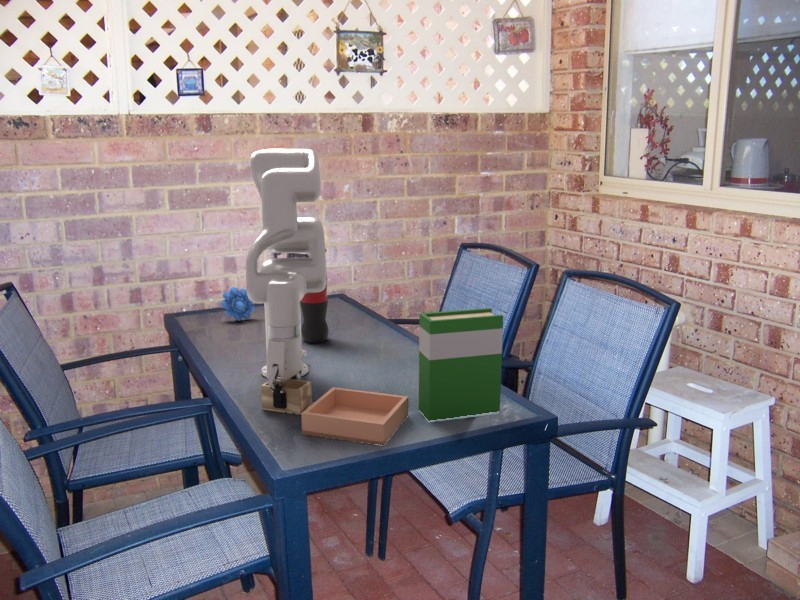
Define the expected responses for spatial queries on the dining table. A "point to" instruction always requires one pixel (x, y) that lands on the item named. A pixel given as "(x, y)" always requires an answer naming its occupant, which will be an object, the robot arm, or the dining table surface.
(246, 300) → the blue flower
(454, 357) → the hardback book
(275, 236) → the robot arm
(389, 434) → the terracotta crate
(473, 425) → the dining table surface
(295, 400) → the pine crate
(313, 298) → the cola bottle
